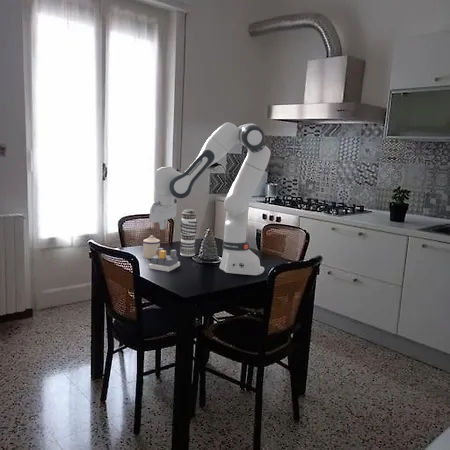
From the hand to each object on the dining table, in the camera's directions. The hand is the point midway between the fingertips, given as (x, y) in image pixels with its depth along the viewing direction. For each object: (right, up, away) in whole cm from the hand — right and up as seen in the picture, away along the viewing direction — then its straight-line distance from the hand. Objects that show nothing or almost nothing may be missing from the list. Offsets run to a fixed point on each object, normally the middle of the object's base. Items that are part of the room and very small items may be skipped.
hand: (162, 229), depth 213 cm
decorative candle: (+9, -15, +32) cm, 37 cm away
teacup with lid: (-10, -15, +25) cm, 30 cm away
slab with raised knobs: (0, -19, +5) cm, 20 cm away
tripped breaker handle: (0, -14, +2) cm, 14 cm away
